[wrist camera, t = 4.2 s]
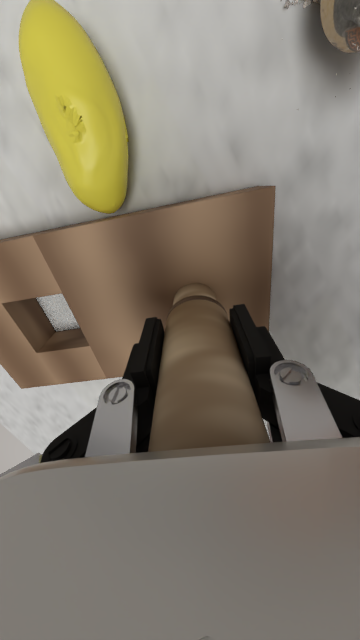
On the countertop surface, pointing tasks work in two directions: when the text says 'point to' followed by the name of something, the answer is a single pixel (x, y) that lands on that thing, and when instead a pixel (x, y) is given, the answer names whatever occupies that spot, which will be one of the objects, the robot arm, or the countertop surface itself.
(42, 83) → the lemon
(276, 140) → the countertop surface
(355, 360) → the countertop surface
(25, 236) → the board
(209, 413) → the dowel
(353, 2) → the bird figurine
